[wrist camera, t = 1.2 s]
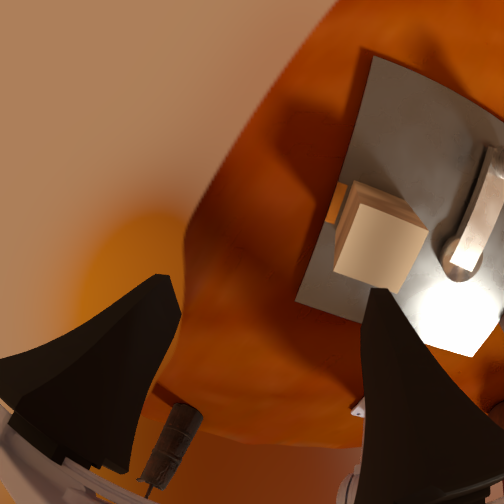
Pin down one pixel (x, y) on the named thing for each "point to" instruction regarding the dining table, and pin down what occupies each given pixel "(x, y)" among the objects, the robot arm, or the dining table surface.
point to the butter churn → (171, 446)
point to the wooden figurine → (498, 418)
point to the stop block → (377, 238)
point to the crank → (476, 221)
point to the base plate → (417, 205)
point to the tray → (502, 323)
